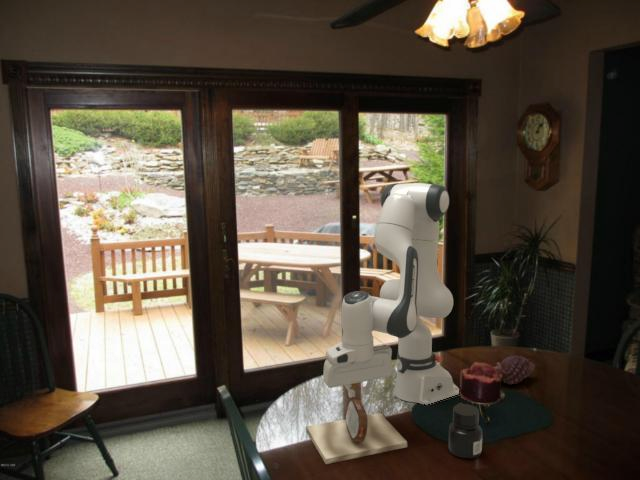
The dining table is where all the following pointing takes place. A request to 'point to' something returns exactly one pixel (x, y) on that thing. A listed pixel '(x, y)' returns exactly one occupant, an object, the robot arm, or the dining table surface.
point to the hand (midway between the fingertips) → (359, 395)
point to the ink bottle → (465, 432)
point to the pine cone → (514, 369)
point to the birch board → (340, 446)
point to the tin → (356, 420)
